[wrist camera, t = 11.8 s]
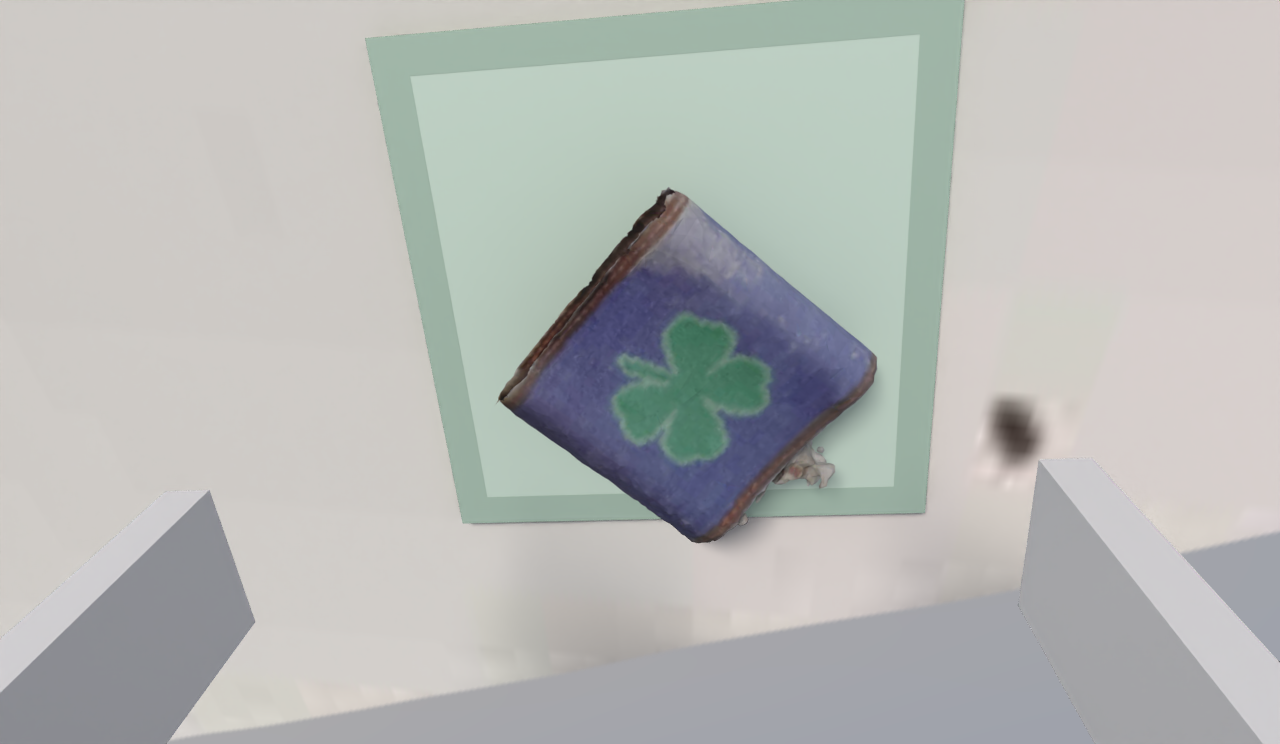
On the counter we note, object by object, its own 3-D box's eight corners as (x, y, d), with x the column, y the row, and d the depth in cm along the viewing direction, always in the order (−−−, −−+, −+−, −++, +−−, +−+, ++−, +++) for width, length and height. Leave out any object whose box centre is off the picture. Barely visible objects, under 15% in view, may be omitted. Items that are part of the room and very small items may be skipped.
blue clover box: (673, 191, 22) (931, 405, 25) (670, 174, 25) (903, 369, 28) (488, 416, 25) (737, 587, 28) (503, 379, 28) (729, 538, 31)
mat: (466, 514, 32) (462, 523, 32) (372, 37, 25) (365, 37, 25) (920, 503, 30) (924, 512, 30) (959, -14, 23) (965, -15, 23)
